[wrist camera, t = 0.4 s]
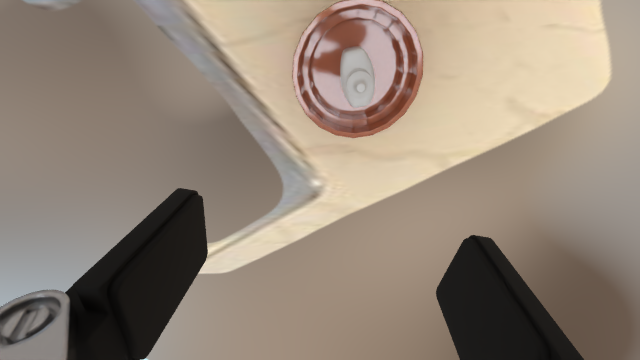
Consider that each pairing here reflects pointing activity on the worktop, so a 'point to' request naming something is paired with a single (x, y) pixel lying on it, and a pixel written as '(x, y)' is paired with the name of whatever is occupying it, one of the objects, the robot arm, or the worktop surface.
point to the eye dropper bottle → (357, 76)
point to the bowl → (386, 57)
